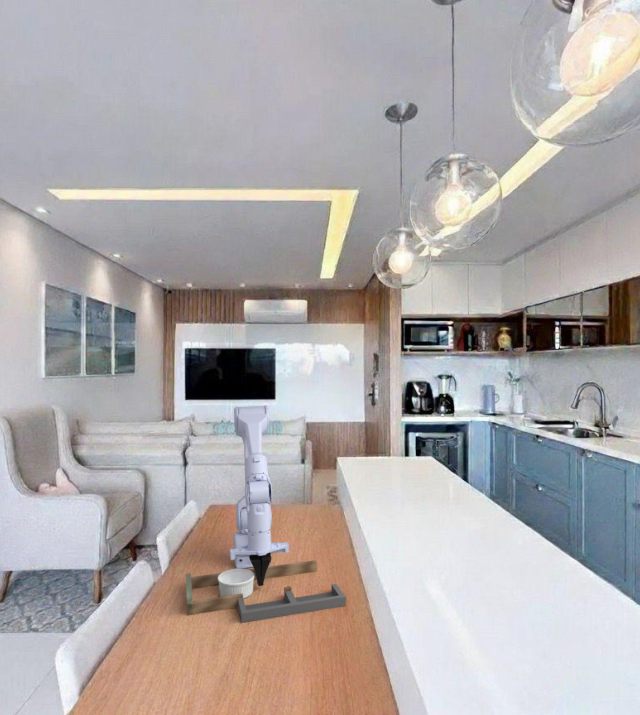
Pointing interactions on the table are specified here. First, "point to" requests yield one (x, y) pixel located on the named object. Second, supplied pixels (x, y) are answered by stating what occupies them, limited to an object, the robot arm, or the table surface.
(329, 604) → the grey e-shaped block
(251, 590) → the ramekin
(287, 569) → the walnut channel
